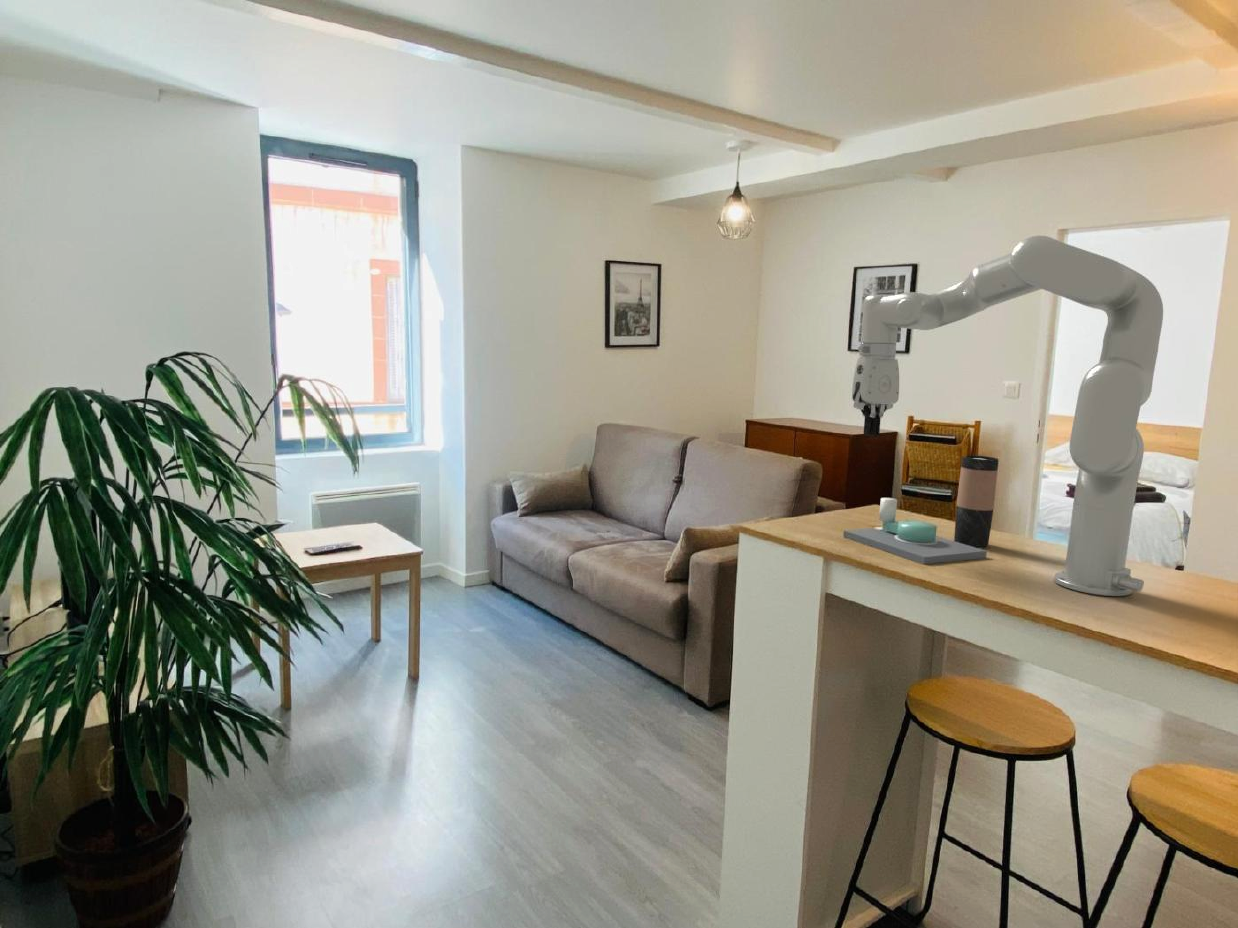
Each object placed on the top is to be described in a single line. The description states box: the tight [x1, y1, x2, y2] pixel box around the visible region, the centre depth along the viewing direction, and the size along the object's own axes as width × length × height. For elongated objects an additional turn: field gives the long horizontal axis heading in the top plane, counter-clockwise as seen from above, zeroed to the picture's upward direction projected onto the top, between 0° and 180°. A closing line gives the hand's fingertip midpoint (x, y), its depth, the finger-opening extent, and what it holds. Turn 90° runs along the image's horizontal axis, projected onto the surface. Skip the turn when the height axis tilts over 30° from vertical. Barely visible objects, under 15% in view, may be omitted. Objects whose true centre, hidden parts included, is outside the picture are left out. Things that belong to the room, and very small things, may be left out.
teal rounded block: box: [878, 497, 938, 542], centre depth 175 cm, size 15×8×7 cm, turn 26°
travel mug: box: [953, 454, 1000, 549], centre depth 176 cm, size 8×8×20 cm
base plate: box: [843, 526, 988, 565], centre depth 173 cm, size 24×18×2 cm
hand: (871, 434), depth 174 cm, fingers closed
